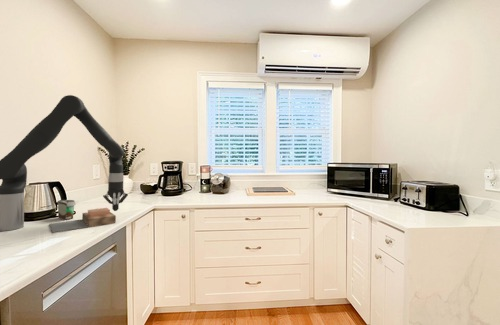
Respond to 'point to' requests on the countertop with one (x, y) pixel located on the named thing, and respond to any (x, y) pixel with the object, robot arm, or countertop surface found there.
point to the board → (98, 219)
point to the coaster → (98, 212)
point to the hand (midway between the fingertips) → (115, 210)
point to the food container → (66, 209)
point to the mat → (67, 226)
